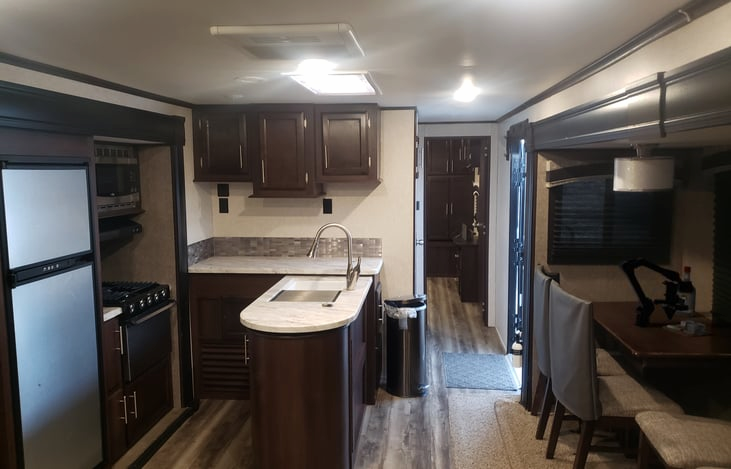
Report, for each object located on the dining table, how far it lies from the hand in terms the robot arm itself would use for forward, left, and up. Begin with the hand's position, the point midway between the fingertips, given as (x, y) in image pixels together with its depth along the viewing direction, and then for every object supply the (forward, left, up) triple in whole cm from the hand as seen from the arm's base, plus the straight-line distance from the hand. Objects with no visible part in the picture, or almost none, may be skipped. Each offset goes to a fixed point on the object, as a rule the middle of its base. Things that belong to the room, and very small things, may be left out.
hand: (669, 319), depth 298 cm
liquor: (+29, +16, -4) cm, 33 cm away
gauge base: (-1, -11, -4) cm, 12 cm away
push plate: (-2, -11, -2) cm, 12 cm away
